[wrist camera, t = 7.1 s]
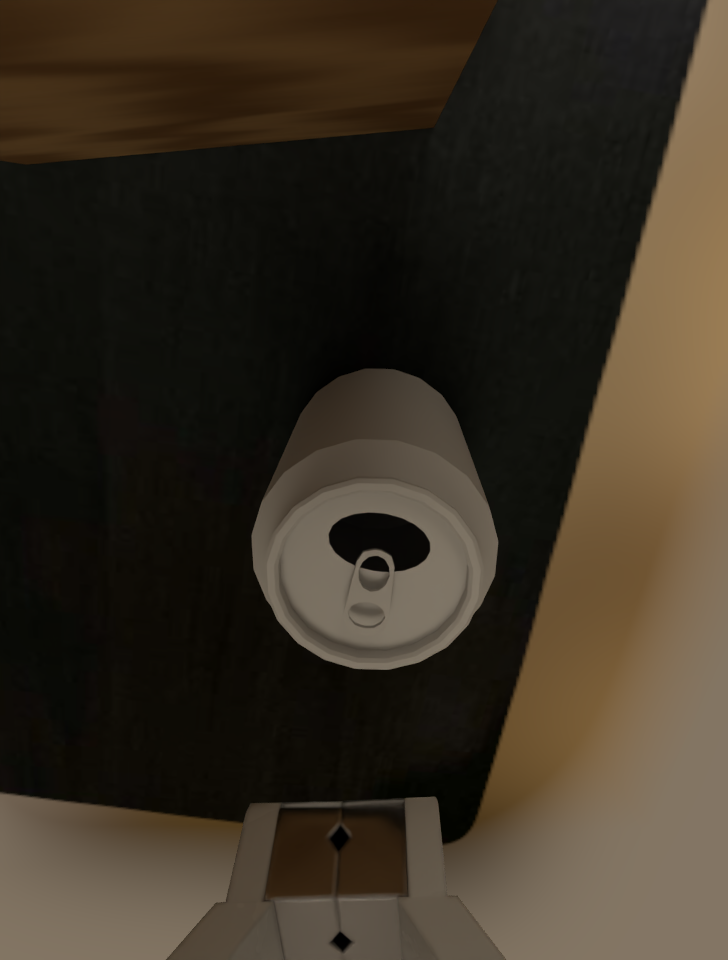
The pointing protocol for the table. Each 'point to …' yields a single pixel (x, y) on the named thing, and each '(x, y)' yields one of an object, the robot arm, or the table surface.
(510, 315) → the table surface
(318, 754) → the table surface
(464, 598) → the can
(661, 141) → the table surface
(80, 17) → the riser
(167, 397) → the table surface
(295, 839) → the robot arm
